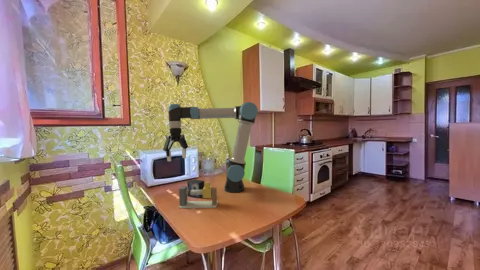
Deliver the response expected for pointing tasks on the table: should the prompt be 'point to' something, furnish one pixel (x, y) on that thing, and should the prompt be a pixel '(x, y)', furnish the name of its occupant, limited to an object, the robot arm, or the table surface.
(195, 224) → the table surface
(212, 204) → the rail
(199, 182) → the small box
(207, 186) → the sleeve
